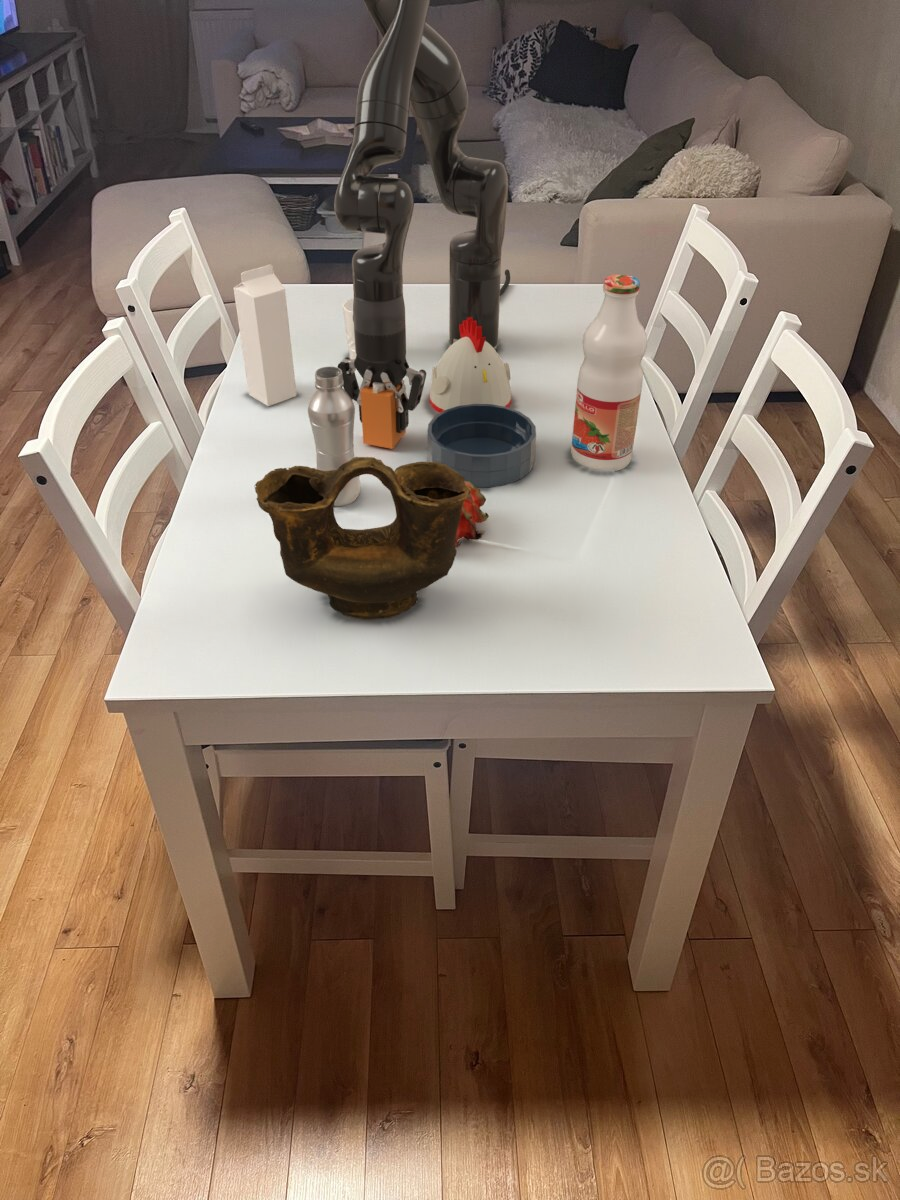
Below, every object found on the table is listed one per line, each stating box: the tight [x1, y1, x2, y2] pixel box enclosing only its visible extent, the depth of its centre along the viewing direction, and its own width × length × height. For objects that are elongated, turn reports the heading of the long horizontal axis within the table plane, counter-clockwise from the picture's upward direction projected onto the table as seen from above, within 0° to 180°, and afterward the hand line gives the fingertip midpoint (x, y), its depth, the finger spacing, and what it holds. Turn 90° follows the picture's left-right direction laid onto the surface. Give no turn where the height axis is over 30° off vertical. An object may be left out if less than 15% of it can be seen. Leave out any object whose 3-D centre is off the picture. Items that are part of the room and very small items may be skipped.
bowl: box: [427, 404, 537, 488], centre depth 143 cm, size 16×16×6 cm
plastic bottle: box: [307, 366, 362, 507], centre depth 130 cm, size 6×7×20 cm
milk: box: [233, 263, 298, 407], centre depth 155 cm, size 6×6×22 cm
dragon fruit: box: [455, 480, 490, 549], centre depth 127 cm, size 8×8×12 cm
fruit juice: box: [570, 274, 648, 472], centre depth 137 cm, size 9×9×28 cm
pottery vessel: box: [254, 456, 471, 620], centre depth 113 cm, size 25×11×20 cm, turn 96°
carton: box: [360, 380, 407, 450], centre depth 145 cm, size 6×5×10 cm
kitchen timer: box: [429, 317, 512, 414], centre depth 155 cm, size 14×14×15 cm
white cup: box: [342, 297, 357, 359], centre depth 171 cm, size 8×8×10 cm
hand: (384, 427), depth 147 cm, fingers closed on carton, 5 cm apart
